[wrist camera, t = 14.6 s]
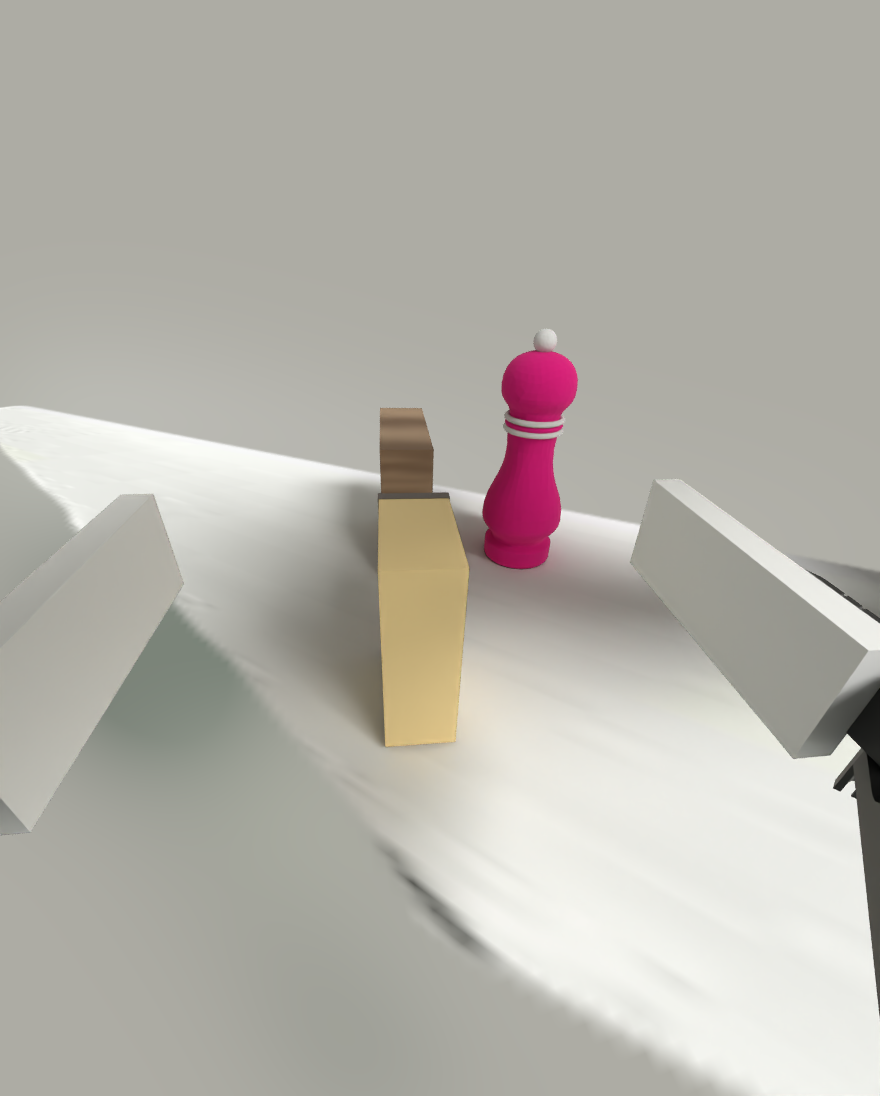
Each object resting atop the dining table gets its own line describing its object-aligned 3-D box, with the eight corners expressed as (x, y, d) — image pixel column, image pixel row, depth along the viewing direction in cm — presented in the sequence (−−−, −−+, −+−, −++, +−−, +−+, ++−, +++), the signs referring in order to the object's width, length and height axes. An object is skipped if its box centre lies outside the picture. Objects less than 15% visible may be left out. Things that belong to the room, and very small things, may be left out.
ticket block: (429, 580, 40) (433, 449, 34) (384, 582, 40) (379, 449, 34) (420, 518, 51) (421, 408, 44) (383, 518, 50) (380, 408, 44)
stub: (456, 742, 26) (470, 567, 20) (384, 747, 26) (376, 570, 20) (440, 645, 33) (448, 492, 27) (383, 648, 33) (377, 493, 26)
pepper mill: (469, 537, 47) (486, 323, 37) (533, 531, 49) (566, 324, 39) (493, 576, 41) (522, 334, 31) (566, 567, 43) (615, 335, 33)
